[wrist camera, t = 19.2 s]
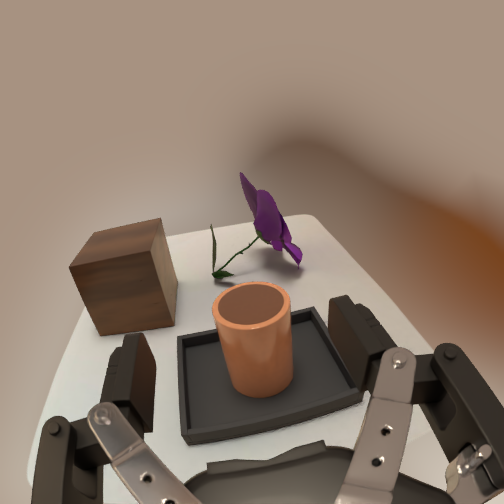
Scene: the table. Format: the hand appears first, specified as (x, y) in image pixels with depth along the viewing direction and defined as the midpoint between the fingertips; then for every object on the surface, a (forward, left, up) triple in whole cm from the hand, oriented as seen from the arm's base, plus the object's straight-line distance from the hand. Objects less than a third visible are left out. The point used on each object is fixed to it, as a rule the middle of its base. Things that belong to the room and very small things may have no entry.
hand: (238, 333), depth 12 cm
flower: (+25, +19, -16) cm, 36 cm away
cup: (+8, +6, -15) cm, 18 cm away
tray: (+8, +6, -16) cm, 19 cm away
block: (+9, +28, -16) cm, 34 cm away
